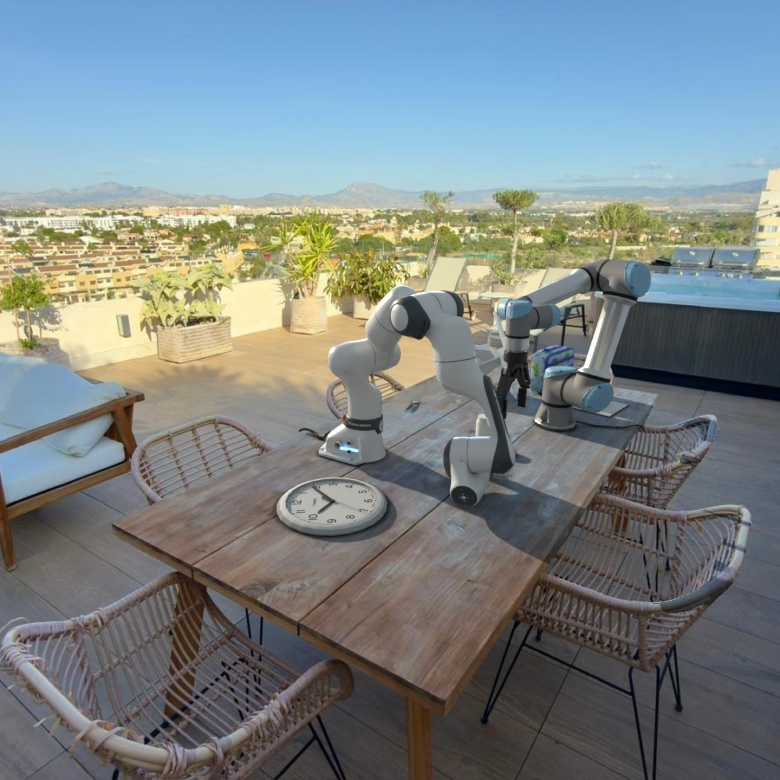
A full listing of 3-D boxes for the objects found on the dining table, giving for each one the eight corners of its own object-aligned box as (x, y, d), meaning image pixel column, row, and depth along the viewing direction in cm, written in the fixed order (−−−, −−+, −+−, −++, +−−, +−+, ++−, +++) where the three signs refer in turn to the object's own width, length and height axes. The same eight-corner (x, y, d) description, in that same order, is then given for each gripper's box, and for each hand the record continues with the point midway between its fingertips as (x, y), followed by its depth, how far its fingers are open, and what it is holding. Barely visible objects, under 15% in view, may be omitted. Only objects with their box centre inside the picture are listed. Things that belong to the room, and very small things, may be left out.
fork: (403, 410, 217) (403, 406, 216) (415, 399, 231) (415, 395, 231) (409, 411, 216) (409, 406, 215) (420, 400, 230) (420, 395, 230)
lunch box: (546, 398, 236) (551, 353, 229) (525, 393, 243) (529, 349, 237) (573, 387, 253) (579, 344, 247) (553, 382, 260) (558, 341, 254)
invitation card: (608, 416, 214) (573, 407, 224) (608, 416, 214) (573, 408, 224) (628, 404, 229) (594, 396, 238) (628, 405, 229) (594, 397, 238)
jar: (488, 478, 160) (493, 420, 154) (471, 475, 161) (475, 418, 156) (490, 470, 165) (495, 414, 159) (474, 468, 166) (478, 412, 161)
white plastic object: (461, 429, 252) (437, 405, 227) (444, 352, 274) (420, 323, 250) (535, 404, 240) (518, 377, 215) (510, 326, 262) (492, 293, 237)
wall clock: (392, 527, 129) (268, 531, 127) (391, 533, 130) (269, 537, 127) (383, 473, 158) (282, 475, 155) (383, 478, 158) (282, 480, 156)
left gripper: (512, 467, 145) (518, 448, 158) (441, 456, 152) (452, 439, 164) (510, 488, 147) (516, 467, 160) (440, 476, 154) (451, 457, 166)
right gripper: (523, 341, 178) (518, 400, 184) (485, 355, 160) (482, 420, 166) (544, 344, 173) (538, 404, 180) (507, 359, 155) (503, 425, 162)
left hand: (483, 453), depth 162 cm, fingers open, 7 cm apart
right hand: (511, 412), depth 173 cm, fingers open, 13 cm apart
